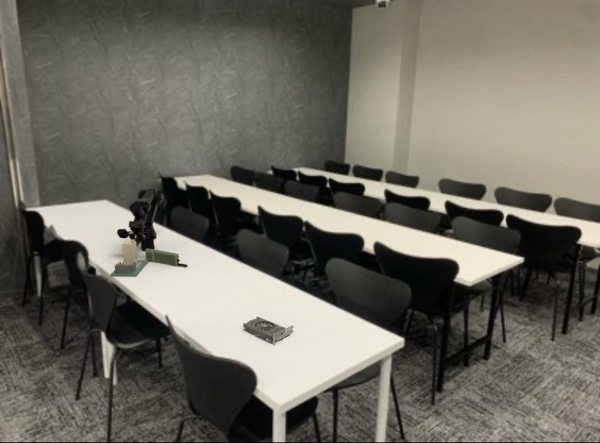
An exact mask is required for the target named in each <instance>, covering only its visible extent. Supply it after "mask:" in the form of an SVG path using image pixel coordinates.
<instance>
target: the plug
mask: <svg viewBox="0 0 600 443" xmlns="http://www.w3.org/2000/svg"><path fill="white" fill-rule="evenodd" d="M121 244H122V246H121V247H122V259H123V261H124V262H126V265H127V263H128V262H129V265H131V264H132V263H133V262H136V265H137V264H138V262H137V260H138V250H137V248H138V247H136V241H135V240H134V239H133V240H126V241H124V242H123V243H121Z"/></svg>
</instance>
